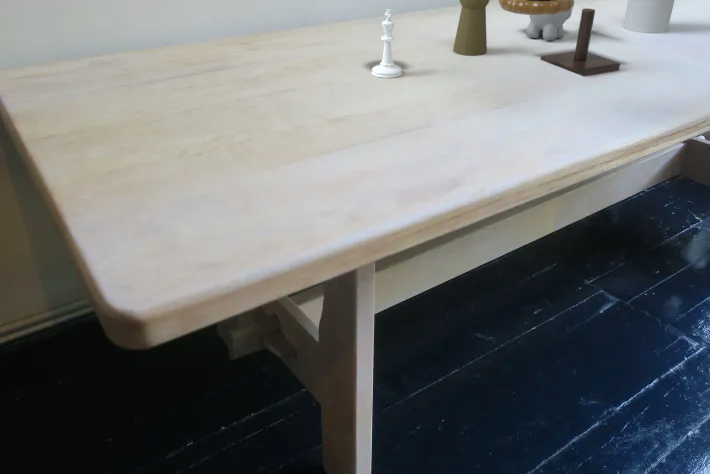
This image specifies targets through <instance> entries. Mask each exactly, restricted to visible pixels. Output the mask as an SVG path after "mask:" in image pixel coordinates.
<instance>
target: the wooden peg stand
mask: <svg viewBox="0 0 710 474" xmlns="http://www.w3.org/2000/svg"><path fill="white" fill-rule="evenodd" d="M595 14H596V9H595V8H589V7H588V8H582V9H581V14H580V21H579V26H578V33H577V38H576V44H575V49H574V51H567V52H560V53H553V54H547V55H546V54H545V55H541V56H540V61H543V62H545V63H547V64H550V65H552V66H555V67H558V68H561V69H563V70H566V71H568V72H571V73H574V74H576V75H579V76H581V77H587V76H592V75H593V76H594V75H599V74H605V73H612V72H617V71H620V67H621V62H618V61H615V60H612V59H609V58H606V57H604V56H600V55H597V54H595V53H591V52H589V48H590V43H591V37H592V31H593V26H594V19H595Z"/></svg>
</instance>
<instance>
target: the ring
mask: <svg viewBox="0 0 710 474" xmlns="http://www.w3.org/2000/svg"><path fill="white" fill-rule="evenodd" d="M498 3H499V6H500V8H501V9H502V10H503V11H505V12H509V13H513V14H518V15H524V16H525V15H526V16H530V15H555V14H563V13H565V12H567V11H569V10H571V9H572V10H573V9H574V6H575V0H554V1H528V0H498Z"/></svg>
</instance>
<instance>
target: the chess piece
mask: <svg viewBox="0 0 710 474" xmlns="http://www.w3.org/2000/svg"><path fill="white" fill-rule="evenodd" d="M384 16H385V17H386V19H385V20H382V21H381V26H382V29H383V33H384V35H382V36H381V37H380V39H381V40H382V41H384V43H383V44H384V45H383V53H382V59H381V62H379V64H377V65H374V66H373V67H372V68H371V75H372V76H374V77H377V78H382V79H392V78H397V77H400V76H402V75H403V72H402V71H403V70H402V67H400V66H398V65H396V64H395V62H394V61H393V54H392V53H393V52H392V41H394V40H395V36H393V35H392V33H393V31H394V30H393V29H394V28H395V25H396V22H395V21H393V20H391V19H392V18H393V13H391V9H390V8H386V12H384Z"/></svg>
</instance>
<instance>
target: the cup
mask: <svg viewBox="0 0 710 474" xmlns="http://www.w3.org/2000/svg"><path fill="white" fill-rule="evenodd" d="M674 5H675V0H627V5H626V10H625V15H624V20H623V24H622V28H623V29H624V30H626V31H629V32H633V33H640V34H650V35H651V34H654V35H655V34H663V33H664V34H665V33H667V32H668V30H669V25H670V21H671V17H672V13H673V9H674Z"/></svg>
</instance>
